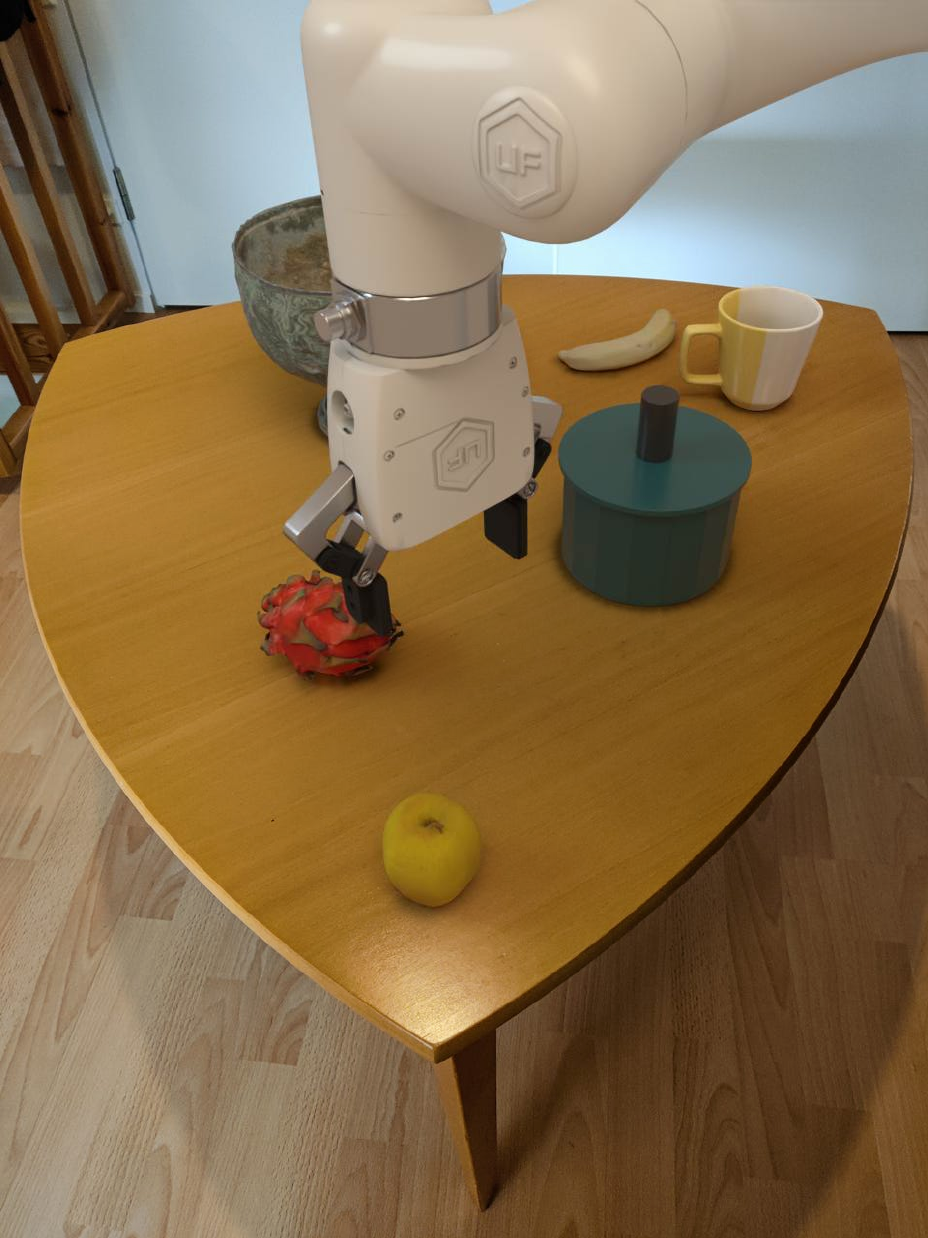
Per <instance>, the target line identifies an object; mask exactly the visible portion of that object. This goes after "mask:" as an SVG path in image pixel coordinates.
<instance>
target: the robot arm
mask: <svg viewBox="0 0 928 1238" xmlns="http://www.w3.org/2000/svg"><path fill="white" fill-rule="evenodd" d="M299 40H300V51H301V62H302V68H303V75H304V76H303V77H304V83H305V84H304V85H305V90H306V98H307V106H308V112H309V113H308V114H309V119H310V127H311V133H312V141H313V148H314V155H315V156H314V157H315V162H316V169H317V178H318V185H319V191H320V195H321V199H322V207H323V214H324V221H325V228H326V235H327V243H328V250H329V257H330V264H331V269H332V278H333V279H330V285H331V293H332V300H333V301H332V303H330V304H329V305H328V306H327V308H326V309H324V310H321V311H318V312H316V313H315V314H314V325H315V328H316V331H317V333H318V335H319V336H320V338H321V339H322V340H323V341H325V342H330V341H331V346H330V355H329V365H328V384H327V387H326V394H327V419H328V436H327V437H328V451H329V461H330V469H331V473H330V475H329V476H328V477H327V478H326V479H325V480H324V481H323V482H322V483H321V484H320V485H319V486H318V487H317V488H316V489H315V491H313V493H312V494H311V495H310V496H309V497H308V498H307V499H306V500H305V501H304V502H303V503H302V505H300V507H299V508H297V510H296V511H295V512H294V513H292V515H291V516H290V517H289V518H288V519H287V520H286V522H285V523H284V524H283V527H282V534H283V535H284V536H285V537H286V538H287V539H288V540H289V541H290V542H291V543H292V544H294V545H295V546H296V547H297V548H298V549H299V550H300V551H301V552H302V553H303V554H304V555H305V556H306V557H307V558H309V559H310V560H311V561H312V562H313V563H314V564H315V565H316V566H318V567H319V569H321V570H322V571H323V572H325V573H327V574H331V575H333V576H337V577H339V578H340V579H341V581H342V586H343V592H344V598H345V604H346V608H347V610H348V612H349V614H350V615H351V616H352V618H353V619H355V620H356V621H357V622H358V623H359V624H362V623H364V622H365V623H366V624H367V625H368V626H369V627H370V628H371V629H373V630H374V631H375V632H376V633H377V634H378V635H379V636H380V637H382V638H383V637H385V636H387V635H388V634H390V633H391V632H392V631H391V630H392V629H393V624H392V617H391V614H392V610H391V602H390V594H389V593H390V592H389V586H388V581H387V579H386V577H385V576H383V575H382V574H381V573H380V572H379V571H380V569H381V568H382V565H383V563H384V562H385V560H386V558H387V555H388V553H389V552H390V553H391V552H392V553H395V552H402V551H406V550H410V549H413V548H415V547H417V546H419V545H421V544H424V543H425V542H428V541H430V540H431V539H433V538H435V537H437V536H439V535H441V534H443V533H445V532H447V531H448V530H450V529H452V528H454V527H456V526H458V525H460V524H462V523H464V522H465V521H467V520H469V519H471V518H473V517H475V516H477V515H479V514H481V513H482V512H483V533H484V537H485V538H486V540H488V541H489V542H490V543H492V544H493V545H495V546H496V547H497V548H499V549H500V550H501V551H502V552H503V553H505V554H507V555H508V556H510V557H511V558H512V559H514V560H518V561H520V560H522V559H523V558H525V557H527V556H528V551H529V550H528V548H529V547H528V546H529V545H528V533H529V531H528V530H529V529H528V527H529V526H528V525H529V524H528V521H529V520H528V519H529V518H528V517H529V513H528V510H529V509H528V504H529V503H528V500H530V499H531V498H533V497H534V496H535V494H536V493H537V491H538V488H539V483H538V481H537V480H536V478H537V477H538V475H539V474H540V472H541V470H542V468H544V465H545V464H546V462H547V460H548V458H549V457H550V456H551V453H552V449H553V447H552V444H551V443H550V442H551V440H553V439H554V437H555V434H556V432H557V430H558V428H559V427H558V426H559V425H560V422H561V419H562V416H563V413H564V408H563V406H562V405H560V404H559V403H557V402H555V401H554V400H552V399H550V398H548V397H546V396H543V395H542V396H541V395H533V394H532V391H531V382H530V374H529V368H528V361H527V356H526V352H525V346H524V341H523V338H522V334H521V331H520V327H519V323H518V320H517V315H516V312H515V310H514V308H512V307H511V306H510V305H508V304H507V303H505V302H503V288H502V287H503V286H502V281H503V278H502V279H501V233H502V234H506V235H509V236H511V237H514V238H518V239H520V240H524V241H528V242H533V243H539V244H544V245H568V244H573V243H579V242H582V241H585V240H589V239H591V238H593V237H595V236H597V235H599V234H601V233H603V232H604V231H607V230H608V229H609V228H611V227H612V226H613V225H614V224H616V223H617V222H618V221H620V220H621V219H622V218H623V217H624V216H625V215H626V214H627V213H628V212H629V211H630V210H631V209H632V208H633V207H634V205H635V204H636V203H638V201H639V200H640V199H642V197H643V196H644V195H645V194H646V193H647V192H648V191H650V189H651V188H652V187H653V186H654V185H655V184H656V183H657V182H658V180H659V179H660V178H661V177H662V176H663V174H664V173H665V172H666V171H667V170H669V168H670V167H671V166H672V165H673V164H674V163H675V162H676V161H677V160H678V159H679V158H680V157H681V156H682V155H683V154H684V153H685V152H686V151H687V150H688V149H689V148H690V147H691V146H692V145H693V144H694V143H695V142H697V141H698V140H700V139H701V138H703V137H705V136H707V135H708V134H711V133H712V132H714V131H716V130H718V129H721V128H722V127H725V126H726V125H729V124H731V123H733V122H735V121H737V120H739V119H741V118H743V117H745V116H748V115H751V114H752V113H754V112H757V111H759V110H762V109H763V108H766V107H769V106H771V105H773V104H775V103H777V102H780V101H782V100H784V99H786V98H789V97H790V96H793V95H795V94H797V93H800V92H802V91H804V90H806V89H809V88H812V87H813V86H816V85H819V84H821V83H823V82H826V81H828V80H831V79H833V78H836V77H839V76H842V75H844V74H847V73H848V72H852V71H854V70H857V69H860V68H863V67H866V66H868V65H872V64H876V63H878V62H881V61H885V60H889V59H893V58H897V57H902V56H906V55H907V56H908V55H912V54H918V53H927V52H928V0H531V1H529V2H526V3H523V4H520V5H518V6H515V7H513V8H511V9H508V10H506V11H502V12H499V13H494V10H493V8H492V5H491V3H490V1H489V0H310V1H309V3H307V5H306V7H305V10H304V12H303V15H302V20H301V25H300V33H299ZM341 516H344V518H343V521H341V524H340V526H339V528H338V530H337V532H336V534H335V536H334V538H333V539H329V538H327V533H328V530H329V529H330V528H331V527H332V525H334V523H335V522H336V521H337V520H338V519H339V518H340V517H341ZM364 533H367V534H368V535H369V537H368V539H367V541H366V543H365V545H364V547H363V549H362V551H361V552H360V551H359V550H358V549H356V548H357V546H358V545H359V542H360V541H361V538H362V536H363V535H364Z"/></svg>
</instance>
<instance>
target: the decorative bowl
mask: <svg viewBox="0 0 928 1238" xmlns="http://www.w3.org/2000/svg"><path fill="white" fill-rule="evenodd" d="M231 252H232V257H233V258H232V259H233V264H234V279H235V283H236V286H237V289H238V293H239V299H240V301H241V307H242V310H243V313H244V316H245V319H246V322H247V325H248V327H249V329H250V332H251V334H252V336H253V338H254V339H255V341H256V343H257V344H258V345H259V347H260V349H261V350H262V351H263V352H264V353H265V354H266V356H268V358H269V359H270V360H271V362H273V363H274V364H276V365H277V366H278V367H280V368H281V369H282V370H284V371H285V372H286V373H288V374H290V375H292V376H296V377H298V378H301V379H302V380H305V381H307V382H309V383H312V384H315V385H318V386H321V387H324V388H327V384H328V365H329V355H330V346H331V341H330V342H325V341H323V340H322V339H321V338H320V336H319V335H318V333H317V331H316V328H315V325H314V314H315V313H316V312H318V311H321V310H324V309H326V308H327V306H328V305H329V304H330V303H332V301H333V300H332V293H331V285H330V279H333V278H332V269H331V264H330V257H329V250H328V243H327V235H326V228H325V221H324V214H323V207H322V199H321V194H316V195H312V196H307V197H302V198H298V199H294V200H291V201H288V202H284V203H281V204H278V205H275V206H272V207H268V208H266V209H263V210H262V211H259V212H258V213H256V214H254V215H253V216H252V217H251V218H249V219H246V220H245V222H244V223H243V224H240V225H239V227H238V230H237V231H236V232H235V234H234V239H233V242H232V243H231ZM506 253H507V244H506V240H505V237H504V235H503V232H501V279H502V280H503V273H504V272H503V271H504V263H505V262H504V261H505V257H506ZM317 419H318V426H319V428H320V430H321V431H322V432H323V434H324V435H326V436H327V437H328V419H327V393H325V395H324V396H323V397H322V399H321V400H320V402H319V405H318V410H317Z"/></svg>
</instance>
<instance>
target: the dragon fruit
mask: <svg viewBox="0 0 928 1238" xmlns="http://www.w3.org/2000/svg"><path fill="white" fill-rule="evenodd" d="M320 574H321V571H320V570H319V569H313V570H312V571H311V575H310V578H309V580H307V579H306V577H305V576H304V575H302V574H293V575H290V576H288V577H287V579H286V583H279V584H278V585H277V586H276V587H272V588H271V590H270V592H268V593H267V594H264V595H263V596H262V599H261V600H260V607H261V610H262V611H263V612H265V613H260V611H261V610H258V611H257V612H256V615H257V621H258V624H259V625H260V627H261V628H263V629H265V630H269V631H268V632H267V633H266V634H265V638H264V640H263V642H262V643H261V644H260V647H259V649H260V650H261V651H262V652H264V654H265V655H266V656H267V657H271V656H276V655H279V654H283V655H284V656H285V657H286V658H287V659H288V661H290V663H291V665H292V666H293V667H294V670H295V671H296V673H297V674H298V675H299V676H300V677H301V678H302V679H303V680H304V681H306V682H307V681H308V682H311V681H313V679H314V678H315V677H316V674H315V672H318V673H321V674H327V675H329V674H330V675H334V676H336V677H344V676H346V677H347V678H351V677H354V676H359V675H361V674H364V673H366V672H370V671H372V669H374V668H375V667H376V666H375V665H370V664H371V663H373V661H374V660H375V659H376V658H378V657H379V656H380V655H381V654H383V653H385V652H387V651H388V652H389V651H390V649H391V648H392V646H393V645H394V644H395V643H396V642H397V641H398V638H401V637H403V636H405V632H404V630H402V629H401V630H399V631H397V628H398V627H401V626H402V623H401V622H399V620H398V619H397V618H396V617H395V616H394V613H391V617H392V624H393V629H392V630H391V633H390V634H388V635H387V636H385V637H383V638H382V637H380V636H379V635H378V634H377V633H376V632H375V631H374V630H373V629H371V628H370V627H369V626H368V625H367V624H366V623H365V622H364V623H362V624H359V623H358V622H357V621H356V620H355V619H353V618H352V616H351V615H350V614H349V612H348V610H347V608H346V604H345V598H344V592H343V586H342V580H341V581H338V582H335V583H334V579H333V578H332V577H330V576H323V577H321V575H320Z"/></svg>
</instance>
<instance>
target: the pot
mask: <svg viewBox="0 0 928 1238" xmlns="http://www.w3.org/2000/svg"><path fill="white" fill-rule="evenodd" d="M741 493H742V490H741V491H740V492H739V493H738V494H737V495H735V496H734V497H733V498H731V499H730V500H728V501H727V502H725V503H723V504H721V505H719V506H717V507H715V508H712V509H709V510H707V511H703V512H699V513H695V514H690V515H683V516H672V517H652V516H641V515H635V514H629V513H624V512H620V511H617V510H613V509H610V508H608V507H605V506H602V505H600V504H598V503H596V502H593V501H592V500H590V499H588V498H586V497H585V496H583V495H582V494H580V493H579V492H578V491H577V490H575V489H574V488H573V487H572V486H571V485H570V484H569V483H568V481H567V480H566V479H565V477H564V476H563V495H562V519H561V520H562V521H561V546H560V547H561V550H560V553H561V556H562V560H563V562H564V565H565V568H566V569H567V571H568V572H569V573H570V575H571V576H572V577H573V578H574V580H575V581H577V582H578V583H579V584H580V585H581V586H582V587H584V588H585V589H586V590H588V591H590V592H592V593H593V594H595V595H597V596H600V597H602V598H605V599H607V600H609V601H613V602H616V603H618V604H619V603H620V604H624V605H630V606H637V607H665V606H671V605H676V604H677V605H678V604H681V603H685V602H688V601H690V600H693V599H695V598H698V597H699V596H701V595H703V594H705V593H706V592H708V591H709V590H711V589H712V588H713V587H714V586H715V584H717V583H718V581H719V580H720V579H721V577H722V576H723V573H724V571H725V569H726V566H727V564H728V563H729V557H730V552H731V547H732V542H733V541H732V540H733V536H734V531H735V526H736V519H737V515H738V510H739V505H740V500H741Z"/></svg>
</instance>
